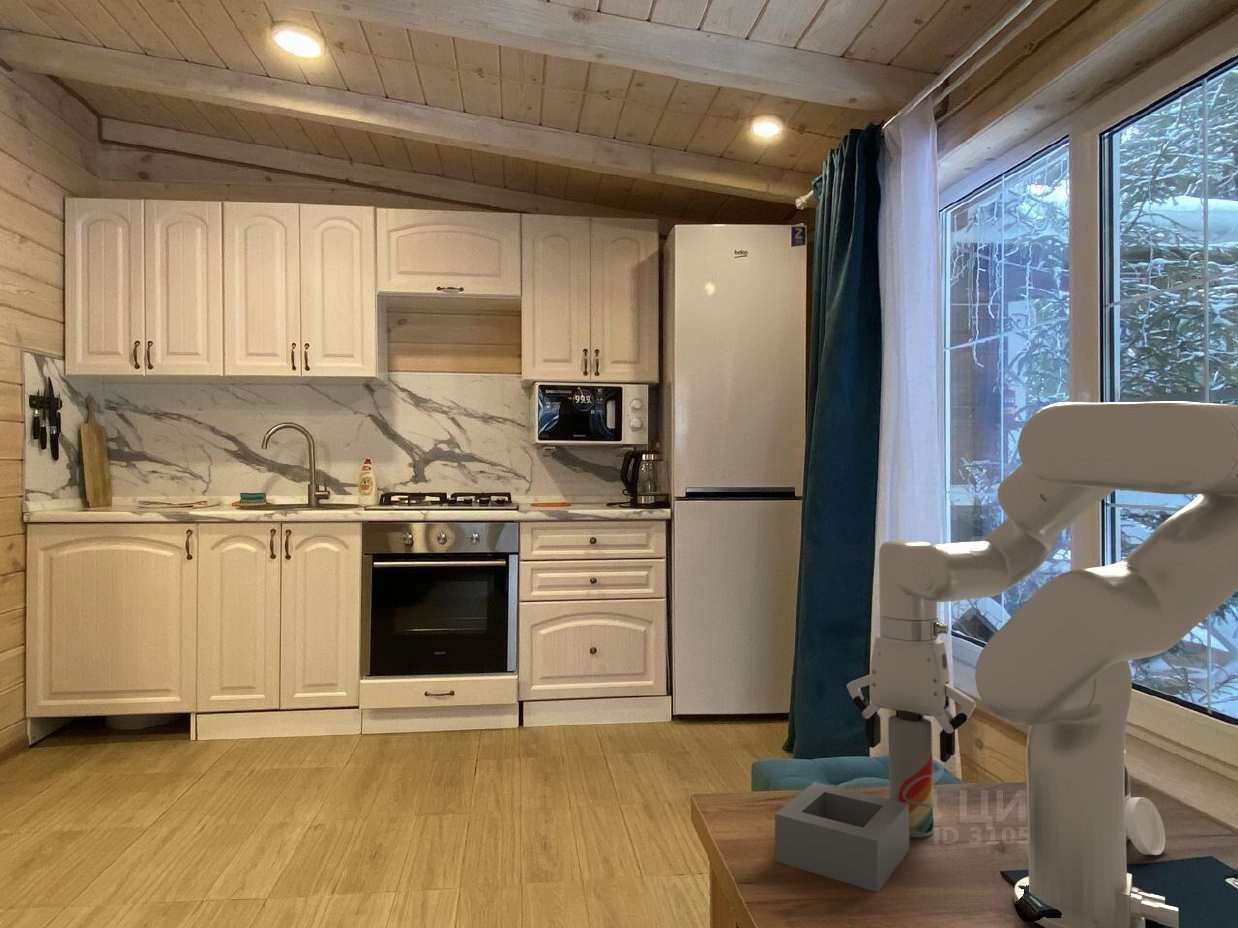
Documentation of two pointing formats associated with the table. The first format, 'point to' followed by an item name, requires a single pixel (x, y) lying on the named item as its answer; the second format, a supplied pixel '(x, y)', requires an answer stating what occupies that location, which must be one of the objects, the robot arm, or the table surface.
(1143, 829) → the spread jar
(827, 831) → the sleeve
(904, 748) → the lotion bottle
